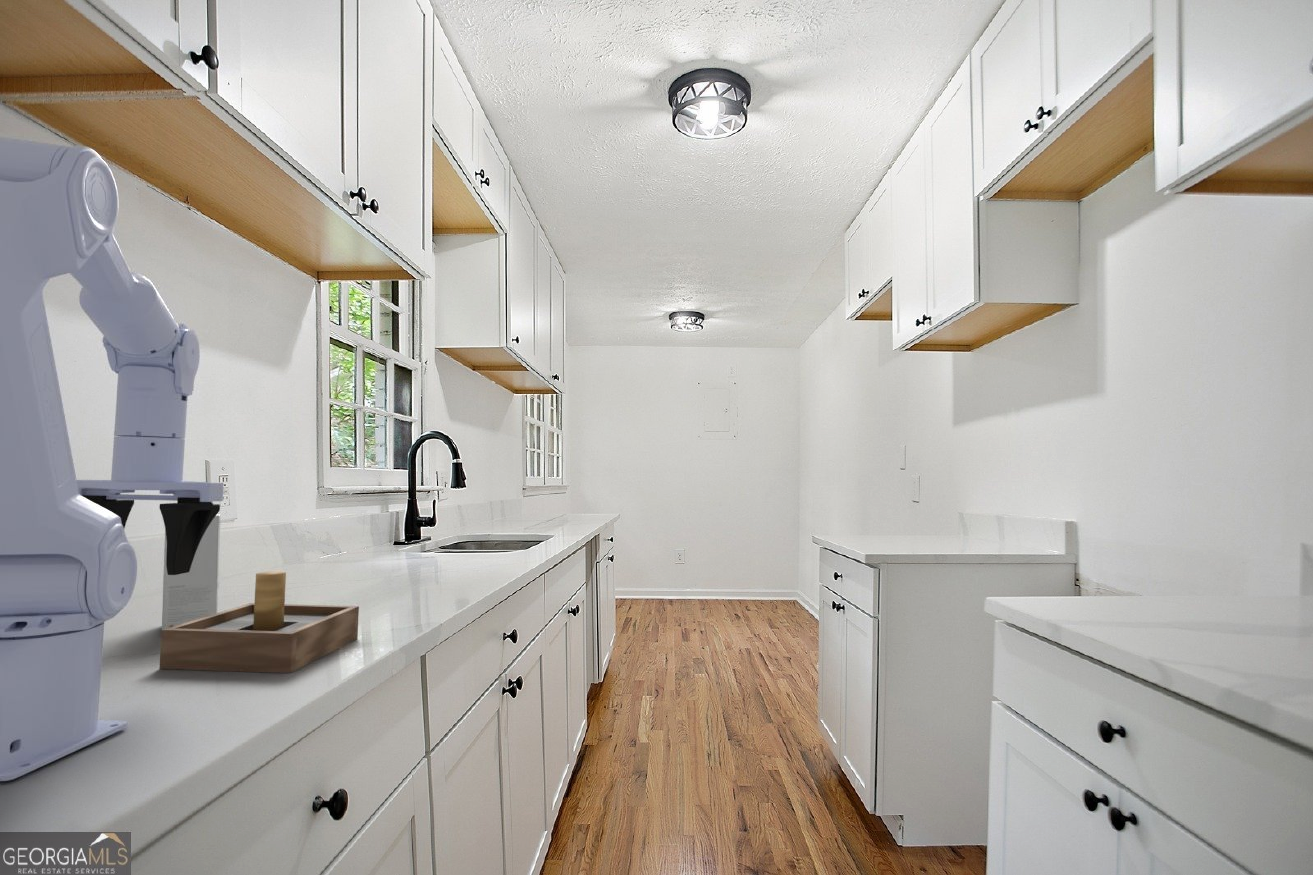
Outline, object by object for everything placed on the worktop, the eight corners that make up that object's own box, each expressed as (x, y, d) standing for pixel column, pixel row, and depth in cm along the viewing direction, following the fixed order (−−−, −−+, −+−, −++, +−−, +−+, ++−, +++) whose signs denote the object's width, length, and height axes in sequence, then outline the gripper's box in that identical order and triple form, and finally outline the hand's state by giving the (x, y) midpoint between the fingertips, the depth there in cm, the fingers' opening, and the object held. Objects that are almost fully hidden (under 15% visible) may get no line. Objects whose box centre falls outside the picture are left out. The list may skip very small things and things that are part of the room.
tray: (290, 672, 67) (292, 633, 67) (159, 668, 68) (161, 629, 68) (357, 638, 81) (358, 606, 81) (248, 635, 82) (250, 603, 82)
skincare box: (216, 631, 83) (223, 515, 84) (157, 637, 80) (164, 516, 81) (217, 618, 90) (223, 511, 91) (163, 623, 87) (169, 512, 88)
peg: (273, 647, 73) (276, 575, 73) (246, 646, 73) (250, 575, 73) (288, 640, 76) (291, 571, 76) (262, 639, 76) (265, 571, 76)
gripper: (246, 441, 70) (239, 568, 69) (115, 438, 70) (107, 565, 70) (197, 437, 63) (188, 579, 62) (52, 434, 63) (42, 575, 62)
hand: (141, 572), depth 65 cm, fingers open, 7 cm apart
